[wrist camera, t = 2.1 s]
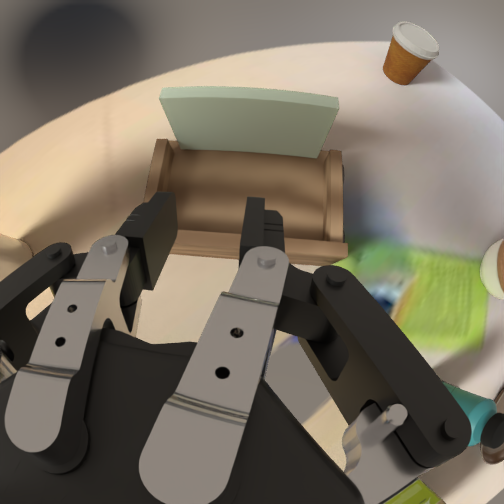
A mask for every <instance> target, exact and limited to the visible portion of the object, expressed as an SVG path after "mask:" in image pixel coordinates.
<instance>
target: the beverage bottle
mask: <svg viewBox="0 0 504 504" xmlns="http://www.w3.org/2000/svg"><path fill="white" fill-rule="evenodd" d="M443 384H444V385H445V386H446V388H447V389H448V390H449V392H450V393H451V394H452V396H453V397H454V398H455V400H456V401H457V402H458V404H459V405H460V407H461V408H462V409H463V411H464V412H465V414H466V415H467V417H468V418H469V421H470V423H471V428H472V435H471V440H470V443H469V445H468V446H473V445H476V444H478V443H480V442H481V444H482V445H484V446H486V447H489V448H492V449H496V448H498V447H500V446H501V445H502V444H503V443H504V414H503V413H500V412H499V413H497V407H496V404H495V402H494V401H493V400H491V399H487V398H484V397H481V396H478V395H475V394H473V393H470V392H467V391H464V390H462V389H460V388H457V387H458V386H457V387H455V386H452V385H450V384H449V383H448V384H447V383H444V381H443Z"/></svg>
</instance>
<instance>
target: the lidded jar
mask: <svg viewBox="0 0 504 504" xmlns="http://www.w3.org/2000/svg"><path fill="white" fill-rule="evenodd" d="M480 277H481V281H482V283H483V285H484V286H485V288H486V289H487V291H488V292H489V293H490V294H491V295H492V296H494V297H496V298H498V299H501V300H504V239H501V240H499V241H497V242H495V243H494V244H493V245H491V246H490V247H489V249H488V250H487V251H486V253H485V255H484V257H483V260H482V263H481V266H480Z"/></svg>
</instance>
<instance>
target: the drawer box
mask: <svg viewBox="0 0 504 504" xmlns="http://www.w3.org/2000/svg"><path fill="white" fill-rule="evenodd" d="M343 181H344V167H343V165H342V154H341V151H337V150H330V151H322V150H321V151H320V153H319V155H318V157H317V158H308V157H300V156H290V155H280V154H269V153H256V152H241V151H222V150H191V149H181V148H180V146H179V143H178V141H168V139H157V141H156V145H155V149H154V153H153V158H152V162H151V167H150V171H149V176H148V181H147V186H146V191H145V197H144V202H149V201H150V199H151V198H152V197H153V195H154V194H155V193H156V192H174V193H175V196H176V208H177V221H178V232H177V237H176V240H175V242H174V244H173V247H172V249H171V251H170V253H169V254H178V255H190V256H202V257H214V258H226V259H238V260H239V249H240V240H241V233H242V227H243V220H244V214H245V208H246V201H247V196H249V197H262V198H265V210H277V211H278V212H279V213H280V214H281V216H282V217H283V227H284V241H285V254H286V255H287V257H288V259H289V263H290V264H302V265H316V266H326V265H331V264H333V263H336V262H338V261H340V260H342V259H344V258H346V257H348V243H345V235H344V230H343ZM144 202H143V203H144Z"/></svg>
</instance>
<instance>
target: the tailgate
mask: <svg viewBox="0 0 504 504" xmlns="http://www.w3.org/2000/svg"><path fill="white" fill-rule="evenodd" d="M159 100H160V102H161V105H162V107H163V109H164V111H165V114H166V116H167V118H168V121H169V123H170V125H171V128H172V130H173V132H174V134H175V137H176V139H177V141H178V143H179V146H180V148H181V149H191V150H222V151H241V152H256V153H269V154H280V155H290V156H300V157H308V158H317V157H318V155H319V153H320V151H321V148H322V146H323V144H324V142H325V139H326V137H327V135H328V133H329V130H330V128H331V126H332V124H333V121H334V119H335V117H336V115H337V112H338V110H339V103H338V98H337V97H331V96H325V95H319V94H312V93H304V92H296V91H287V90H276V89H264V88H248V87H219V86H197V87H168V88H162V90H161V94H160V97H159Z"/></svg>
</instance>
